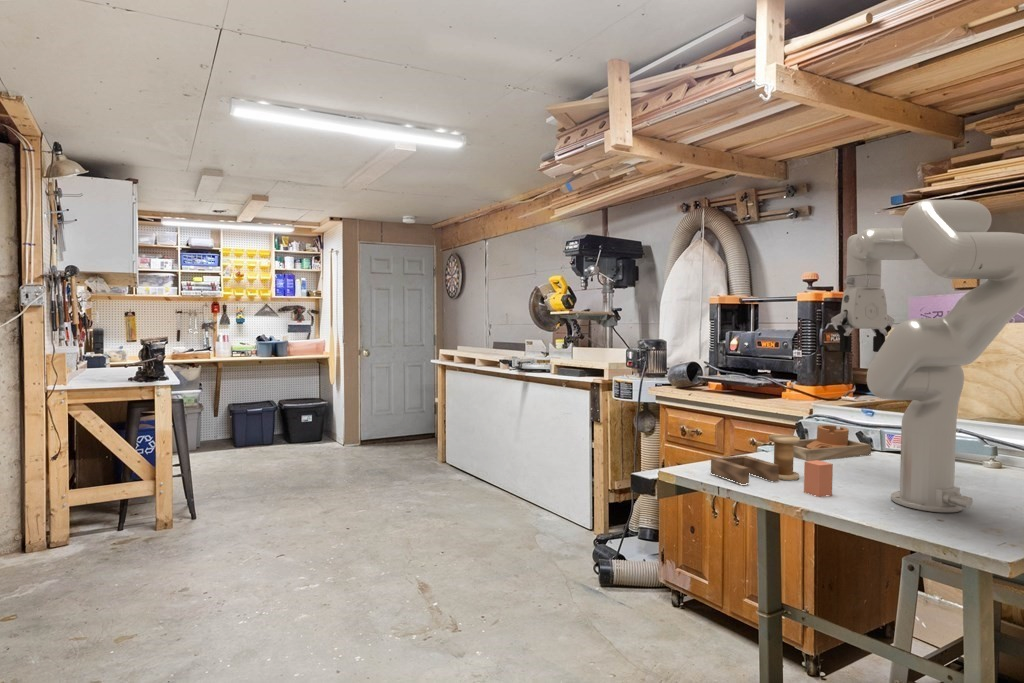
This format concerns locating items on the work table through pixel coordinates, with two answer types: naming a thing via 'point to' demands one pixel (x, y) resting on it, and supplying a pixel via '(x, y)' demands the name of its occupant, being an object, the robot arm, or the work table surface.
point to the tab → (818, 478)
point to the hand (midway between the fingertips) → (862, 351)
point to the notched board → (744, 468)
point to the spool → (784, 454)
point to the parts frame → (830, 451)
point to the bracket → (829, 437)
